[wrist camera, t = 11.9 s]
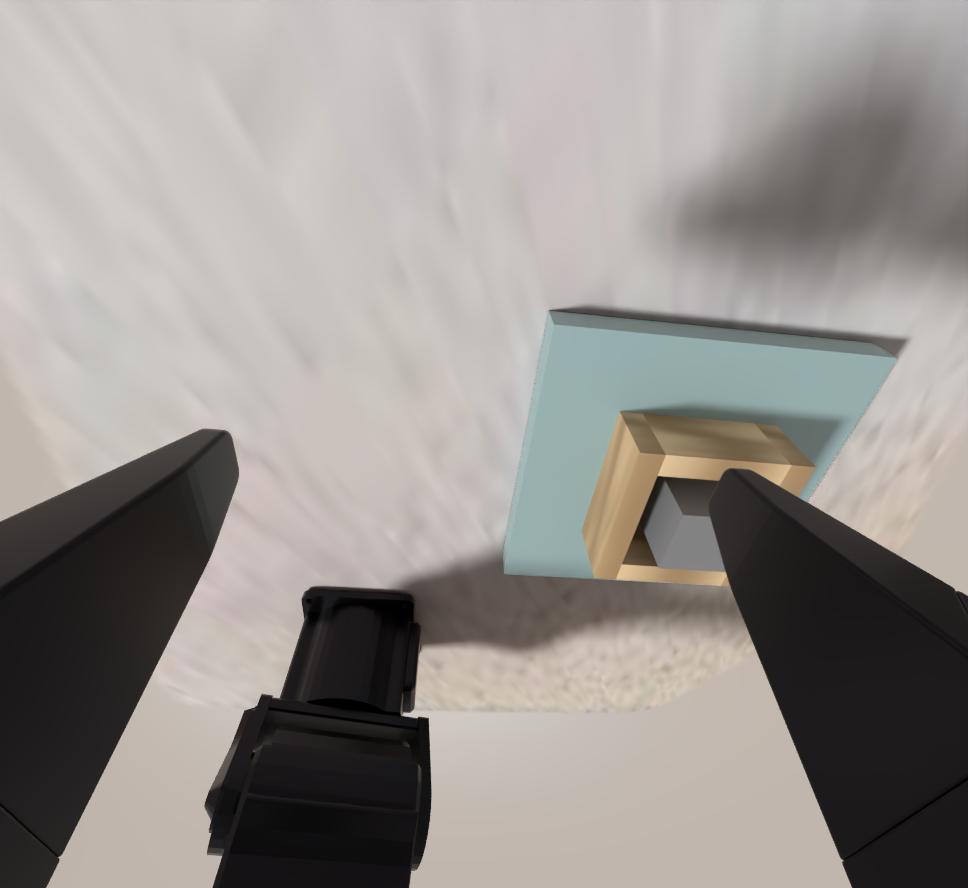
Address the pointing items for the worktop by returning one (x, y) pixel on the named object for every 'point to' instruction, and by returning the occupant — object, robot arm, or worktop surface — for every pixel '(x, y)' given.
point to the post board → (673, 392)
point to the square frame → (674, 453)
